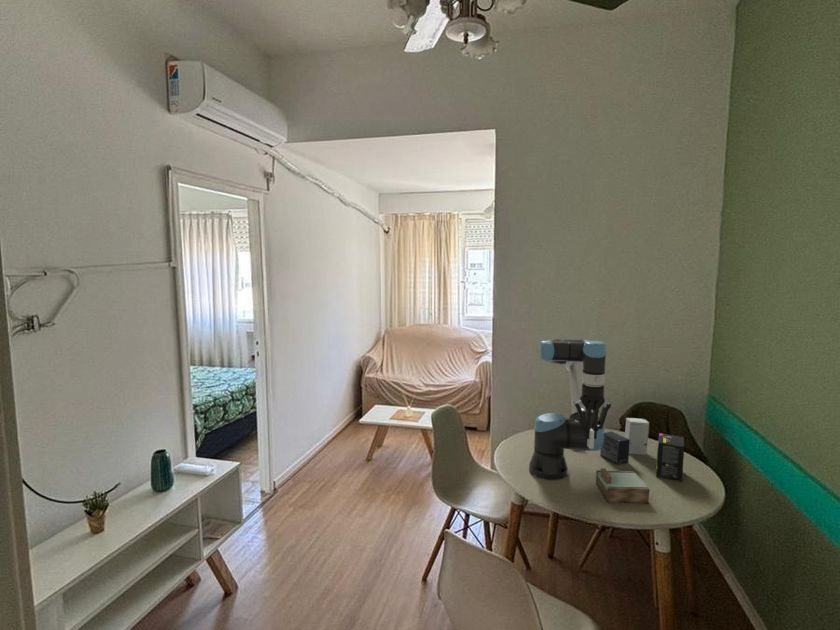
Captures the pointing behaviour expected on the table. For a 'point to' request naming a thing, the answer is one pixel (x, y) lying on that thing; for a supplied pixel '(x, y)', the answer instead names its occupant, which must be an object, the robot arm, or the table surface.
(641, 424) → the skincare box
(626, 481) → the cover plate
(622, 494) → the box
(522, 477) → the table surface
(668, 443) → the tampon box
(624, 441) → the small box
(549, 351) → the robot arm
